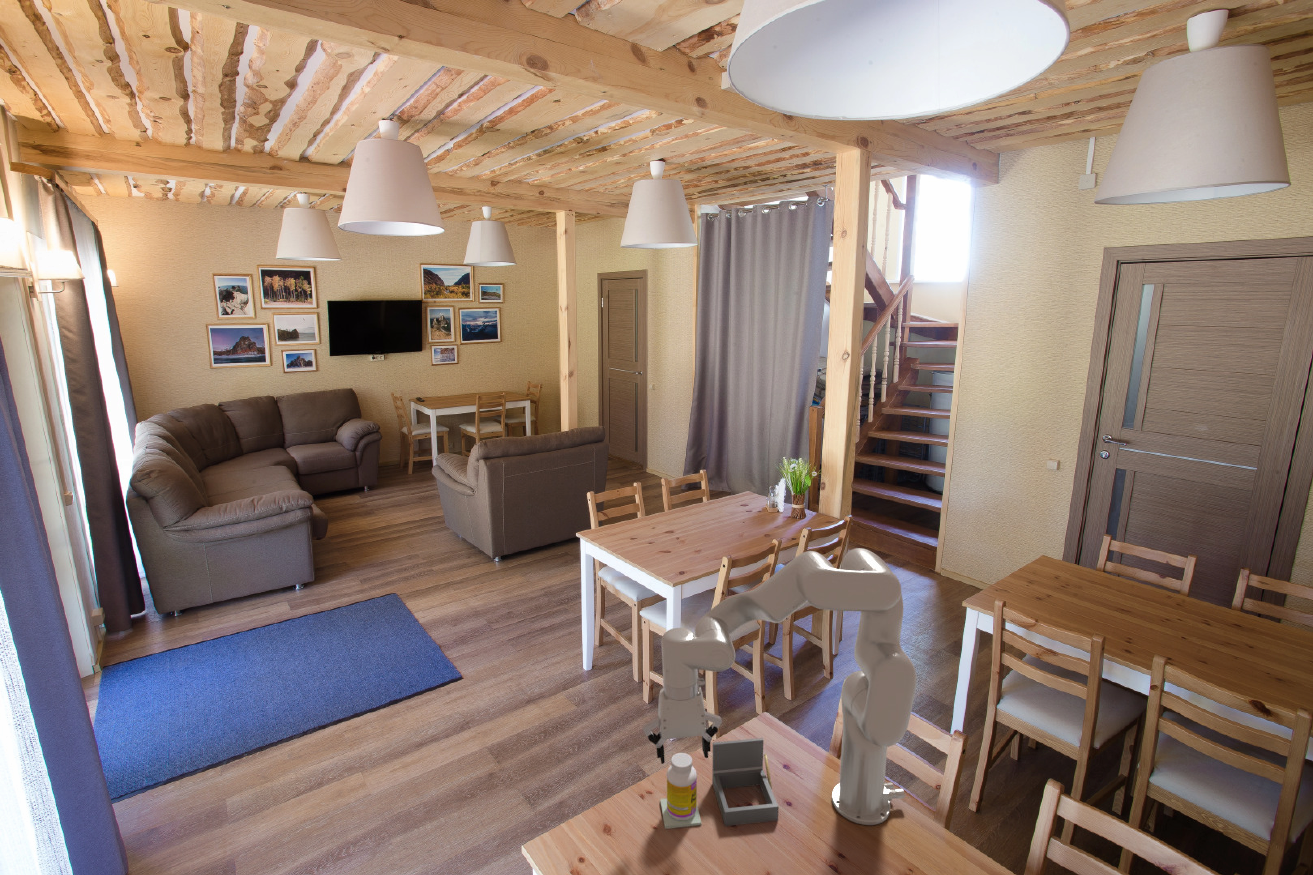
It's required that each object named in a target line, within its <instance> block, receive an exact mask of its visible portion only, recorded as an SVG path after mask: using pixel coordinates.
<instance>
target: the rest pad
mask: <svg viewBox="0 0 1313 875" xmlns="http://www.w3.org/2000/svg"><path fill="white" fill-rule="evenodd" d="M659 801H660V807H661V812H662V818H663V819H662V820H663V826H664V829H666V830H667V829H675V828H686V827H695V826H701V825H702V820H701V816H700V812H699V808H698V807H699V806H697V809H696V813H695V815H694V816H693V817H692V818H690V819H688V820H683V821H681V820H676V819H674V818H672V817H671V816H670V815H669V813H668V811H667V798H660V800H659Z"/></svg>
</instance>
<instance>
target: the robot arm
mask: <svg viewBox="0 0 1313 875" xmlns="http://www.w3.org/2000/svg"><path fill="white" fill-rule="evenodd" d="M806 603H808V604H809V605H811V606H812V607H814V608H816V609H819V610H824V611H836V612H860V614H859V616H860V617H859V623H858V628H857V633H856V634H857V635H856V639H855V644H854V651H853V652H854V654H853V655H854V659H855V663H856V664H857V665H858V667H859V669H860V670H857V671H853V672H851V673H850V674H849V675H848V676H847V677H845V680H844V682H843V684H842V686H841V696H840V699H841V711H842V736H841V737H842V738H841V753H840V755H841V756H840V769H839V770H840V774H839V783H838V784H836V785H835V786H834V787H833V790H832V794H831V800H832V804H833V806H834V808H835V809H836V811H837V812H838V813H839V814H840V815H841V816H842V817H844V818H845V819H847V820H848V821H850V822H852V823H855V824H860V825H864V826H865V825H866V826H874V825H879V824H881V823H883V822H885V821H886V820H887V819H888V818H889V816H890V815H891V803H890V802H891V801H893V799H897V800H898V799H904V798H906V797H905V791H904V789H903V788H894V783H893V782H886V767H887V754H888V748H890V747H892V746H894V745H896V744H898V743H899V742H900V741H901V740H902V739H903V738H904V736H905V734H906V732H907V730H908V727H909V724H910V720H911V715H912V709H913V706H914V699H915V696H916V688H917V682H918V680H917V679H918V678H917V672H916V668H915V666H914V663H913V661H912V660H911V659H910V657H909V656H908V655H907V654H906V652H905V651H904V649H902V646H901V634H902V628H903V617H904V600H903V594H902V585H901V583H900V581H899V579H898V577H897V575H896V574H895V573H894V572H893V571H892V569H891V568H890V567H889V565H888V564H887V563H886V562H885V561H884V560H883V559H882V558H881V557H880V556H879V555H878V554H876V553H874V552H872V551H871V550H869V549H866V548H862V547H861V548H860V547H859V548H858V547H856V548H852V549H850V550H849V551H848V552H846V554H845V555H844V557H843V560H842V562H841V569H840V568H835V566H834V565H833V564H832V562H830V561H829V560H828V559H827V557H825V555H823V554H822V553H819V552H817V551H815V550H814V551H813V550H807V551H804V552H802V553H800V554H798V556H795V557H794V558H793V559H792V560H791V561H788V562H787V564H785V565H784V566H783V567H781V568H780V569H779V570H778V571H777V572H775V573H774V574H772V576H770V577H769V578H767V579H766V580H765V581H763V582H762V583H761V584H759V585H758V586H757V587H755V588H754V589H751V590H747V591H743V592H740V593H737V594H735V595H731V596H729V597H727V598H724V600H722V601H720V602H719V603H718V604H716V605H715V606H714V607H712V608H711V609H710V610H709V611H708V612H706V613H705V614H704V615H703V616H702V617H701V618H700V619H699V620H698V621H697V623H696V625H695V628H694V632H693V631H692V630H690V629H687V628H685V627H675V628H671V629H668V630H667V631H665V632H664V633H663V635H662V636H661V639H660V640H661V642H660V643H661V662H662V684H663V686H662V687H663V688H661V689H660V691H659V696H658V706H657V707H658V708H657V709H658V710H657V712H658V714H657V717H656V718H653V719H652V720H650V721H648V722H647V723H645V724H644V725H643V726H642V731H643V733H644V734H645V736H646V737H647V739H648V741H649V742H650V743H652V744H654V745H655V748H656V755H657V756H656V757H657V759H660V763H661V764H662V765H663V764H665V763H666V762H665V760H666V759H665V747H664V743H666V742H667V740H675V739H681V738H682V739H683V738H691V737H698V736H701V746H702V747H701V749H702V753H703V755H704V756H703V757H704V759H709V753H710V752H711V742H712V740H713V737H714V736H715V735H716V734H717V733H718V732H719V728H720V726H721V724H722V722H723V720H722V718H721V716H720V715H717V714H715V713H711V712H709V711H706V708H705V701H704V696H703V690H702V688H701V687H702V686H705V685H706V680H705V678H703V677H702V678H701V677H699V670H701V671H707V672H715V673H716V672H717V673H718V672H724V671H726V670H729V669H730V668H731V667H732V666H733V665H734V663H735V662H736V661H735V660H736V651H735V650H736V649H735V647H734V645H733V640H732V638H731V637H732V636H731V635H732V634H733V633H734V632H735V631H736V630H738V629H739V628H741V627H743V625H745V624H747V623H750V622H752V621H765V622H766V621H767V622H769V623H773V624H779V623H782V622H783V621H785V620H786V619H787V618H788V617H790V616H791V615H792V614H793V613H795V612H797V610H799V609H800V608H802V607H803V606H804V605H805V604H806ZM707 721H708V722H711V723H712V724H711V725H710V726H709V727H707ZM656 728H659V730H658V731H657V733H655V732H653V731H652V730H655V729H656Z"/></svg>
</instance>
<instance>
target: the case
mask: <svg viewBox="0 0 1313 875" xmlns="http://www.w3.org/2000/svg"><path fill="white" fill-rule="evenodd" d="M763 763H764V764H765V770H766V773H765V770H764V766H763V765H764V764H763ZM711 772H712V776H711V777H712V778H711V782H712V783H711V784H712V787H713V790H714V794H715V797H716V801H717V804H718V808H719V811H720V814H721V818H722V821H723V825H724V827H729V826H738V825H739V826H740V825H748V824H749V825H750V824H757V823H758V824H759V823H765V822H766V823H767V822H776V821H779V804H778V802H777V799H776V797H775V795H774V794H775V793H774V792H773V785H772V779H771V773H770V767H769V759H768V754H767V753H764V738H763V737H760V738H759V737H757V738H749V739H748V738H746V739H738V740H737V739H735V740H726V741H724V740H723V741H715V742H712V771H711ZM750 786H751V787H752V786H753V787H754V786H759V787H760V789H761V792H762V795H763V797H764V800H765V801H766V804H757V805H748V806H747V805H746V806H738V807H737V806H736V807H729V805H728V802H727V800H726V796H725V793H724V790H723V789H731V788H742V787H750Z"/></svg>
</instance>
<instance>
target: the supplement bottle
mask: <svg viewBox="0 0 1313 875" xmlns="http://www.w3.org/2000/svg"><path fill="white" fill-rule="evenodd" d="M670 759H671V761H670V766H669V767H668V768H667V771H666V799H667V811H668V813H669V815H670V816H671V817H672V818H674V819H676V820H681V821H683V820H688V819H690V818H692V817H693V816H694V815H695V813H696V809H697V807H698V803H697V802H698V801H697V800H698V799H697V798H698V794H697V791H698V790H697V787H698V786H697V783H698V782H697V781H698V780H697V779H698V778H697V777H698V776H697V770H696V768H695V767H694V766H693V758H692V756H691V755H690V754H688V753H686V752H677V753H675V754H673V755H672V757H671V758H670Z"/></svg>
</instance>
